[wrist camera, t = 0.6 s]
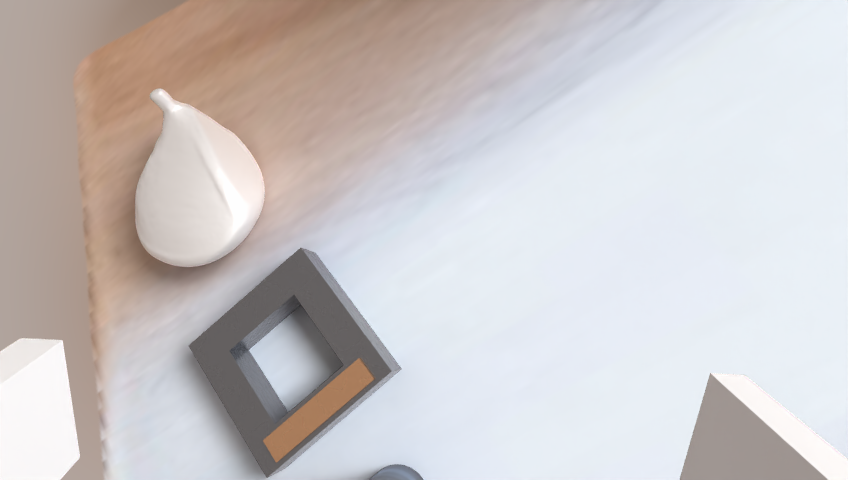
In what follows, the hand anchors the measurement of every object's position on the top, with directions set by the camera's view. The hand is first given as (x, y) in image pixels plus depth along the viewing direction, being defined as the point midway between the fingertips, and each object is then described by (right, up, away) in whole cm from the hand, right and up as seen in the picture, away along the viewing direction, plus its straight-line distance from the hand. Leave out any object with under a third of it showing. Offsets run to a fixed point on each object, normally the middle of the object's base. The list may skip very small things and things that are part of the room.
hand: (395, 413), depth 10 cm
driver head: (-18, +7, +32) cm, 37 cm away
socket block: (-9, -5, +27) cm, 29 cm away
